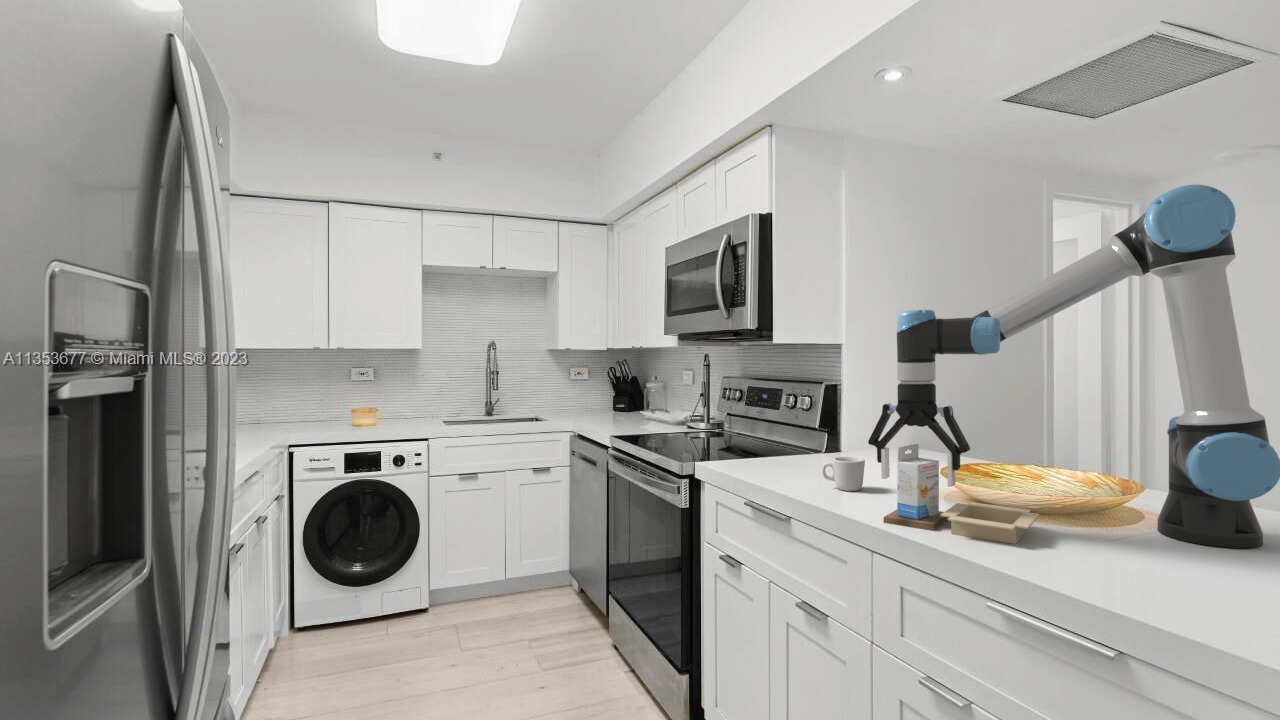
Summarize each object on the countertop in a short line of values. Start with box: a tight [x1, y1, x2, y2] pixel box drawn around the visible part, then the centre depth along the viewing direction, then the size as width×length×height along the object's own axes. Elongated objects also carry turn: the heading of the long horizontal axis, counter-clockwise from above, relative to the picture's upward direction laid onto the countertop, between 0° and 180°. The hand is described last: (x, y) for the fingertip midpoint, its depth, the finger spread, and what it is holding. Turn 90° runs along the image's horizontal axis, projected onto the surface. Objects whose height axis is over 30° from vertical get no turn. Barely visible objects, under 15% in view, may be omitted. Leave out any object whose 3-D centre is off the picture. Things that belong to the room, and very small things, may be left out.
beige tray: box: [941, 501, 1041, 545], centre depth 129 cm, size 15×17×4 cm
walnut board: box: [883, 509, 949, 531], centre depth 138 cm, size 10×12×1 cm
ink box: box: [896, 443, 940, 520], centre depth 138 cm, size 8×5×15 cm, turn 127°
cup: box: [821, 456, 866, 492], centre depth 169 cm, size 11×8×8 cm
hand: (917, 481), depth 138 cm, fingers open, 13 cm apart
